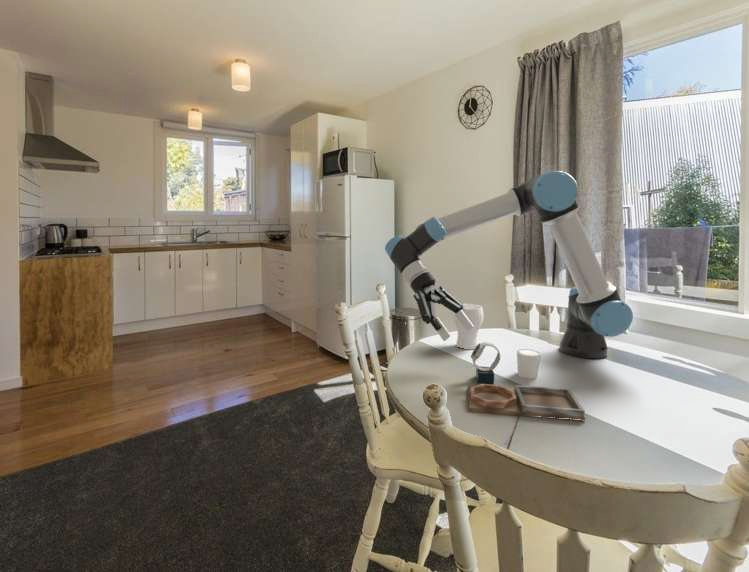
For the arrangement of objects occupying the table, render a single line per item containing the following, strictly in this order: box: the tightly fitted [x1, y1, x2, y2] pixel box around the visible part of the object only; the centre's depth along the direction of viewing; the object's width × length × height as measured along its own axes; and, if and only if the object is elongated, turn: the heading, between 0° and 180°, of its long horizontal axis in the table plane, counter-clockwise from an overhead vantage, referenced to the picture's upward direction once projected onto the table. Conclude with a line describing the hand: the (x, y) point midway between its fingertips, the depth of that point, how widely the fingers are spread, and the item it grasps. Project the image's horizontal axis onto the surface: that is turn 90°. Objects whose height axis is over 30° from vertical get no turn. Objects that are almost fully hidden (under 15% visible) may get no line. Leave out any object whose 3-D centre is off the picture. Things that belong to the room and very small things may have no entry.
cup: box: [452, 303, 484, 350], centre depth 150 cm, size 11×11×15 cm
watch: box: [470, 341, 501, 385], centre depth 118 cm, size 6×8×11 cm
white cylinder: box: [516, 348, 542, 379], centre depth 123 cm, size 7×7×7 cm
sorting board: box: [467, 384, 586, 421], centre depth 103 cm, size 26×13×2 cm, turn 79°
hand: (459, 333), depth 122 cm, fingers open, 13 cm apart
